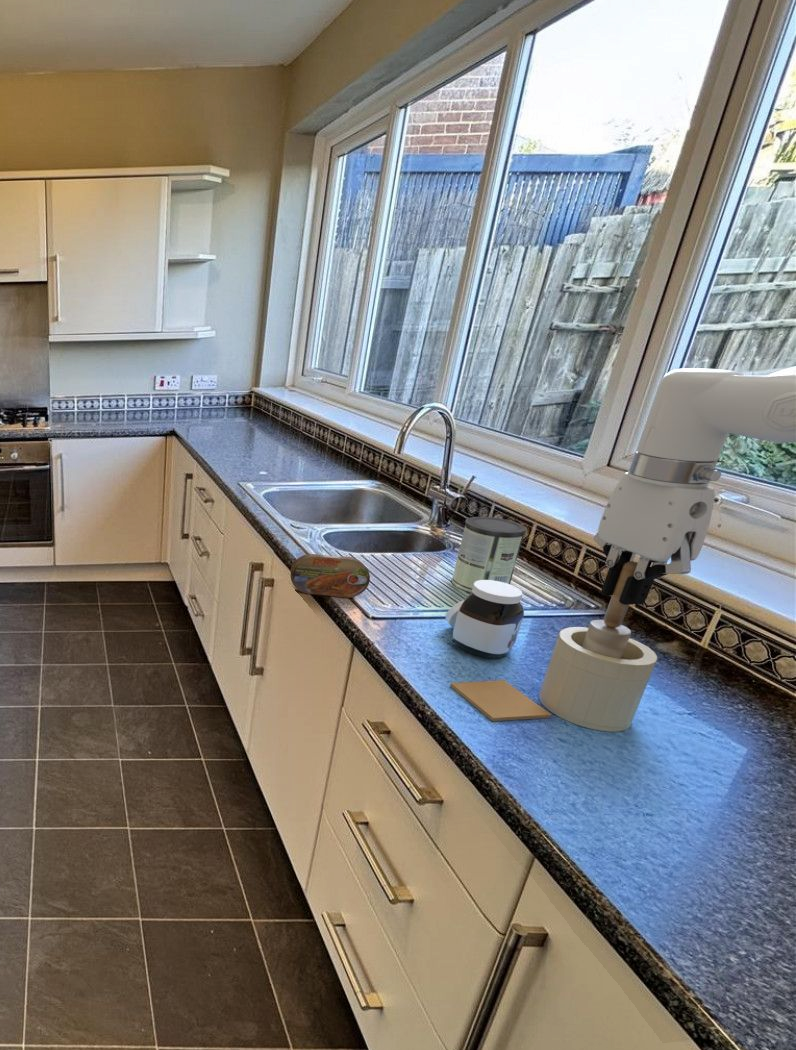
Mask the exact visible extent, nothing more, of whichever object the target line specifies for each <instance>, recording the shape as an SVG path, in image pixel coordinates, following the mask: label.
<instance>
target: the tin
mask: <svg viewBox="0 0 796 1050" xmlns="http://www.w3.org/2000/svg"><path fill="white" fill-rule="evenodd" d="M370 580H371V574H370V571H369V569H368V567H367V566H366V565H365V564H364V563H363V562H362V561H361V560H359V559H357V558H355V557H352V556H345V555H344V556H341V555H331V554H329V555H328V554H318V553H307V554H304V555H303V554H302V555H301V556H299V557H297V559H295V561H293V563H292V565H291V568H290V581H291V583H292V585H293V587H294V588H295V589H296V590H297V591H298V592H301V593H303V594H306V595H314V596H326V597H327V596H328V597H334V598H335V597H336V598H344V599H346V598H347V599H349V598H350V599H351V598H355V597H357V596H360V595H361V594H363V593H364V592H365V591H366V590H367V589H368V587H369V585H370V582H371V581H370Z"/></svg>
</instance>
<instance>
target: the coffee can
mask: <svg viewBox="0 0 796 1050" xmlns="http://www.w3.org/2000/svg"><path fill="white" fill-rule="evenodd" d="M464 524H465V526H464V530H463V533H462V538H461V541H460V545H459V550H458V554H457V559H456V562H455V568H454V570H453V574H452V577H451V583H452V585H453V586H455V587H456V588H457V589H460V590H462V591H465V592H468V593H470V594H471V593H472V589H473V585H474V582H476V581H479V580H493V581H499V582H504V583H507V584H510V585H511V583H512V578H513V575H514V571H515V568H516V564H517V561H518V557H519V554H520V551H521V547H522V543H523V539H524V537H525V536H524V535H525V534H526V533H527V527H526V526H524V525H523V524H522V523H519V522H516V521H513V520H509V519H504V518H500V517H491V516H473V517H468V518H466V519H465V521H464Z"/></svg>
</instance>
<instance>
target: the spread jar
mask: <svg viewBox="0 0 796 1050" xmlns="http://www.w3.org/2000/svg"><path fill="white" fill-rule="evenodd" d="M522 597H523V590H521V589H520V588H519V587H517V586H515V585H513V584H511V583H510V584H507V583H504V582H499V581H493V580H479V581H476V582H474V585H473V589H472V593H471V592H470V593H469V594H468V595H467V596H466V598H464V600H461V601H459V602H457V603H455V604H454V605H452V606H451V607H450V608H449V609H448V610H447V612H446V613H445V620H446V622H447V623H448V624H449V626H450V628H452V629H453V630H452V639H453V641H454V642H455V644H456V645H457V646H458V647H460V648H461V649H462V650H464V651H465V652H467V653H470V654H472V655H473V656H478V657H482V658H486V659H500V658H503V657H505V656H506V655H507V654H509V653H510V651H511V650H512V648H513V647H514V645H515V643H516V642H517V638H518V637H519V632H520V630H521V627H522V624H523V620H524V615H525V609H524V606H523V605H522V603H521V601H522Z"/></svg>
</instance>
